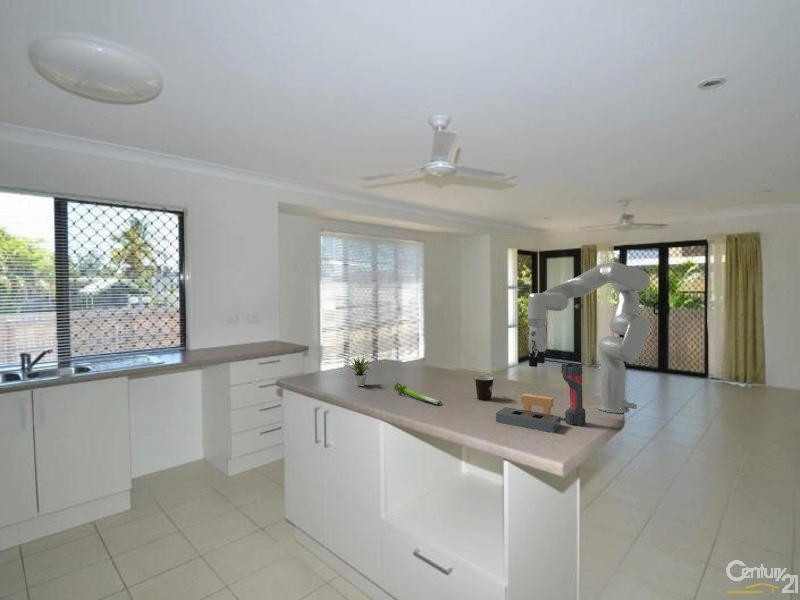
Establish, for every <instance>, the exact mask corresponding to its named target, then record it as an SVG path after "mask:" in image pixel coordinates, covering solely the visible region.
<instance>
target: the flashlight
mask: <svg viewBox="0 0 800 600" xmlns="http://www.w3.org/2000/svg"><path fill="white" fill-rule="evenodd" d="M583 373H584V371H583V366H582V365H581V364H579V363H576V364H573V363H567V364H565V363H562V364H561V374H562V378H563V380H564V382H566V383H567V384H568V387H569V404H570V405H569V408H567V409H566V410H565V411H564V420H565V422H564V423H566V424H569V425H570V426H573V425H577V426H585V425H586V424H587V423H586V409H585V408H584V407H583V403H584V402H583Z"/></svg>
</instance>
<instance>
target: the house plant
mask: <svg viewBox="0 0 800 600" xmlns="http://www.w3.org/2000/svg"><path fill="white" fill-rule="evenodd" d="M352 359H353V361H354V362H353V361H351V360H350V363H351V364H352V365H353V366H354V367H349V369H352V370H354V371H355V373H353V381H354V386H355V385H366V379H367V373H365V371H366V370H369V371H370V370H371V369H370V365H368V364H371V362H372V358H371V359H367V360H366V357H365V356H364V355H363V356H362V359H361V361H360V358H359V356H357V359H356V358H354V357H353V358H352ZM365 360H366V361H365Z"/></svg>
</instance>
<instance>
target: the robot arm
mask: <svg viewBox="0 0 800 600" xmlns="http://www.w3.org/2000/svg"><path fill="white" fill-rule="evenodd" d="M607 284H611V286H612V288H613V290H614V292H615V293H616V299H617V301H616V305H615V309H614V311H613V314H612V317H611V319H610V324H609V328H610V331H611V332H612V333H614V334H617V335H621V336H615V335H607V336H604V337H603V338H601V339H600V341H599V343H598V345H597V346H598V347H597V348H598V354H599V359H600V397H599V398H600V402H599V403H597V404H596V408H597V409H598V410H600V411H602V412H605V411H606V412H607V413H610V412H611V414H612V413H613V414H626V413H629V412H630V409H633V410H637V409H638V404H636V403H635V402H628V399H627V398H626V365H625V362H626V363H633V362H635V361H636V360H638V358H639V357H640V355H641V353H642V351H643V348H644V345H645V342H646V339H647V336H648V333H649V330H650V325H649V321H648V319H647V317H646V316H644V315H642V314H640V313H638V311H639V308H640V298H639V296H638V293H637V292H642V291H645V290H646V289H648V287H649V286H650V284H651V277H650V276H649V274H648V273H647V272H646V271H645V270H642V269H639V268H636V267H634V266H630V265H627V264H624V263H621V262H607V263H600V264H597V265H595V266H594V267H592V268H590V269H589V270H587V271H585V272H583V273H581V274H580V275H578V276H576V277H574V278H571V279H569V280H566V281H564V282H561V283H558V284H556V285H554V286H553V287H550V288H549V289H546V290H545V291H543V292H533V293H530V294H529V295H528V298H527V299H528V301H527V303H528V304H527V327H528V328H529V332H528V366H529V367H532V368H537V367H538V364H545V358H546V356H545V355H546V354H545V353H546V351H547V349H548V338H547V337H548V334H547V328H548V311H553V312H562V311H564V310H565V309H567V308H568V306H569V305H570V303H569V302H570V301H569V300H570V299H573V298H580V297H584V296H587V295H589V294H591V293H592V292H594V291H596V290H598V289H599V288H601V287H603V286H605V285H607ZM622 336H623V337H622ZM620 408H621V409H622V410H621V409H620Z"/></svg>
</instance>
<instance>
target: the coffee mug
mask: <svg viewBox="0 0 800 600" xmlns="http://www.w3.org/2000/svg"><path fill="white" fill-rule="evenodd" d="M474 383H475V390H476V391H475V392H476V399H477V400H478V399H479V400H478V401H482V402H485V401H488V400H489V401H491V400H492V394H493V387H494V386H493V385H494V377H493V376H487V375H486V376H485V375H478V376H475V377H474Z"/></svg>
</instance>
